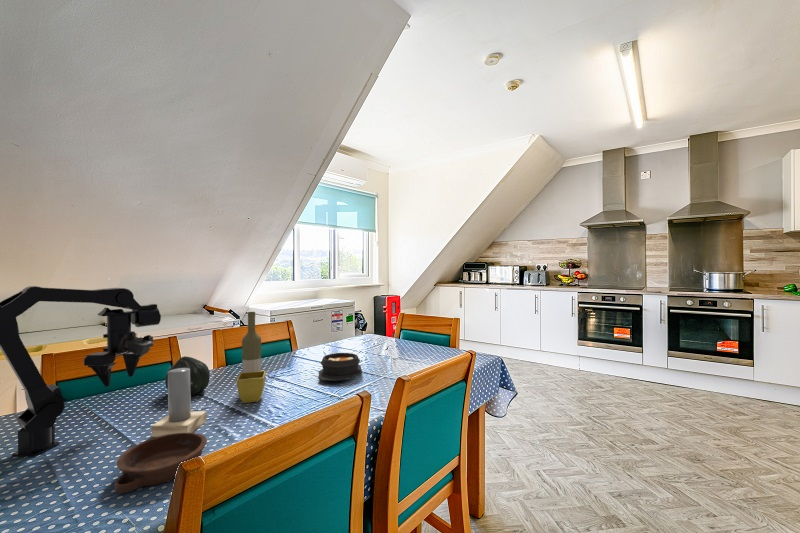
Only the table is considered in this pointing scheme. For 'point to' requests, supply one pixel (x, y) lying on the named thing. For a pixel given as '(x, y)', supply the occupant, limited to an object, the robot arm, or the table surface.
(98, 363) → the robot arm
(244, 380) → the flower pot
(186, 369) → the tumbler
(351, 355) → the casserole
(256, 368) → the bottle
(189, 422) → the base block
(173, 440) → the dish
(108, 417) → the table surface
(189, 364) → the squash
